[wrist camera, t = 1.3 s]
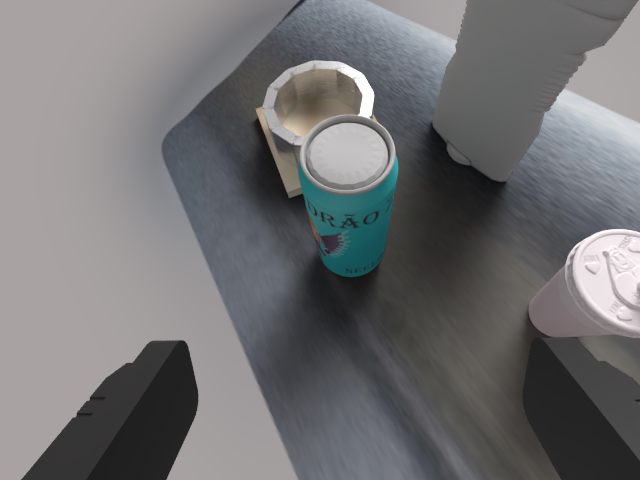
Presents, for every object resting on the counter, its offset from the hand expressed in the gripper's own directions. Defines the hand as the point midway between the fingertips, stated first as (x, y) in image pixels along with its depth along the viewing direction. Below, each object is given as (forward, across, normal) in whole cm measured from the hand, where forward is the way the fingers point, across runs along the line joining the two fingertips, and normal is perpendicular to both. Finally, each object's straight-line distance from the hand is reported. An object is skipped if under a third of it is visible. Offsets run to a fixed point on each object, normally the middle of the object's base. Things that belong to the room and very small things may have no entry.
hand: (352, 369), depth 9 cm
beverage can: (+24, 0, +8) cm, 25 cm away
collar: (+32, +2, -3) cm, 33 cm away
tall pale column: (+32, -12, 0) cm, 34 cm away
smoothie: (+20, -16, +12) cm, 28 cm away
